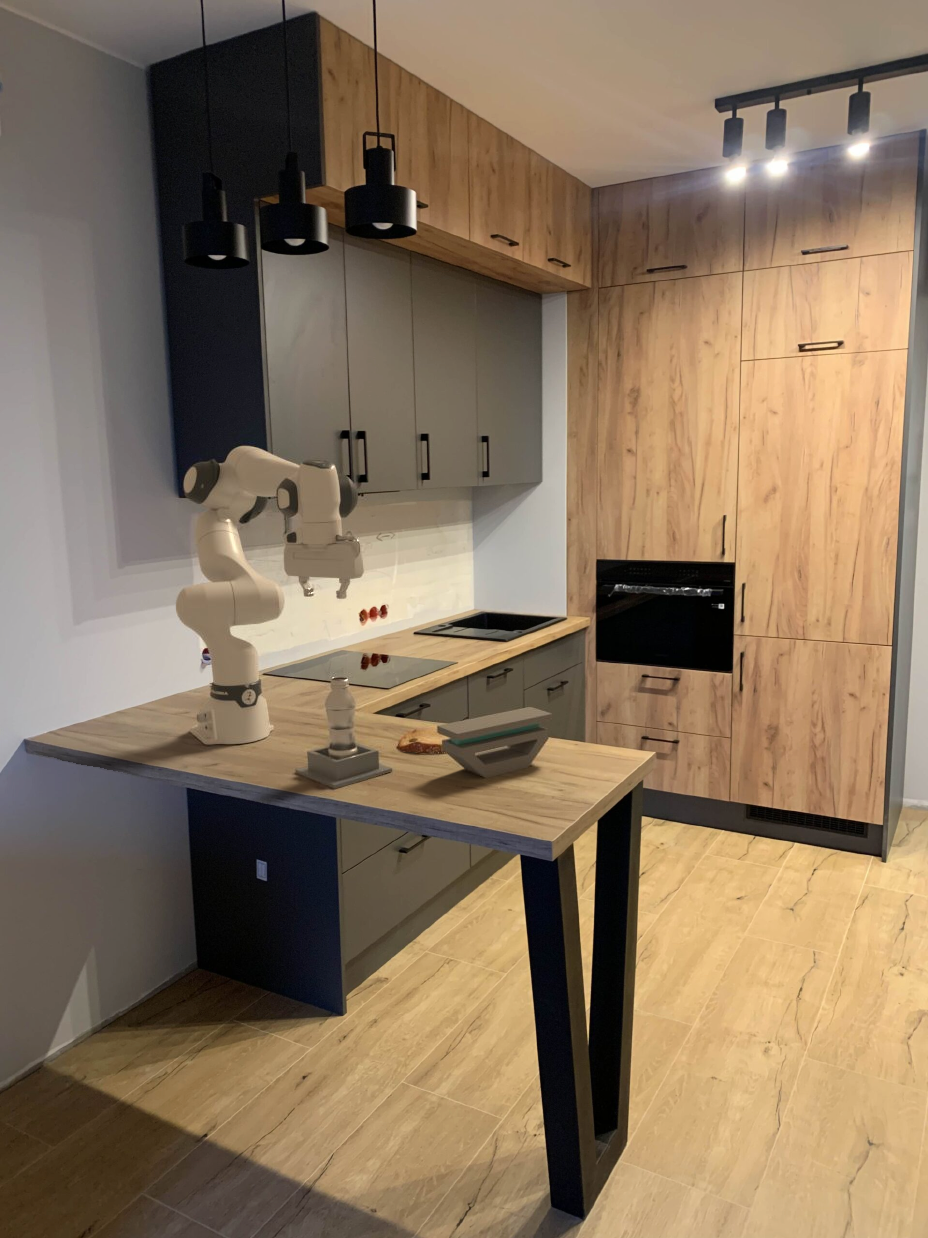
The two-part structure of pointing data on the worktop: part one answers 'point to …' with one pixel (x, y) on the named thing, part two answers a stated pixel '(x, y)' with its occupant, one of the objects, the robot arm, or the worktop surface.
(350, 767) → the holder
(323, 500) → the robot arm
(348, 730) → the plastic bottle
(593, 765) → the worktop surface
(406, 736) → the slice of bread
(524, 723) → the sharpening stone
